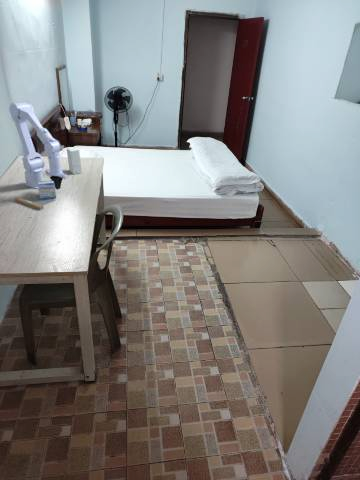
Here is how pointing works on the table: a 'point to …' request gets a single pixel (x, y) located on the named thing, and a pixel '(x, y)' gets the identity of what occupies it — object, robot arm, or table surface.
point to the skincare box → (74, 160)
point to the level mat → (34, 202)
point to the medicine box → (47, 189)
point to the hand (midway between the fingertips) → (58, 188)
